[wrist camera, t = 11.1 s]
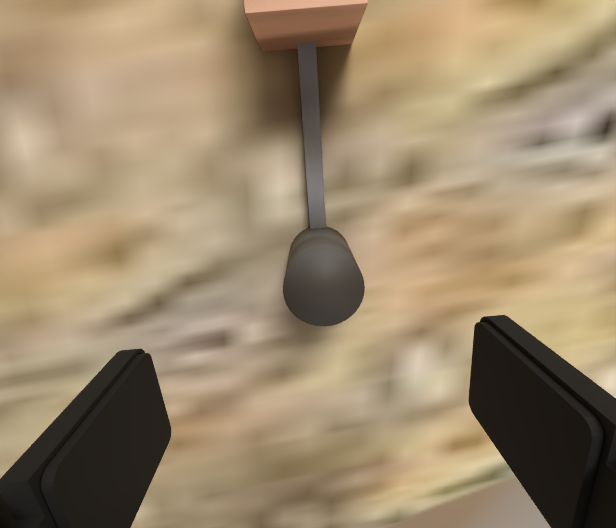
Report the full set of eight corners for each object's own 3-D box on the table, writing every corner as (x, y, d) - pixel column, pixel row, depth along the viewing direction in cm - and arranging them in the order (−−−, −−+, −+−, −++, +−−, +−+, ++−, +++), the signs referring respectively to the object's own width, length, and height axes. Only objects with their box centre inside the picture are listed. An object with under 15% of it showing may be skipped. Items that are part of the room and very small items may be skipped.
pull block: (357, 280, 22) (375, 323, 17) (284, 285, 22) (277, 329, 17) (348, -71, 16) (371, -193, 11) (250, -62, 17) (220, -178, 11)
